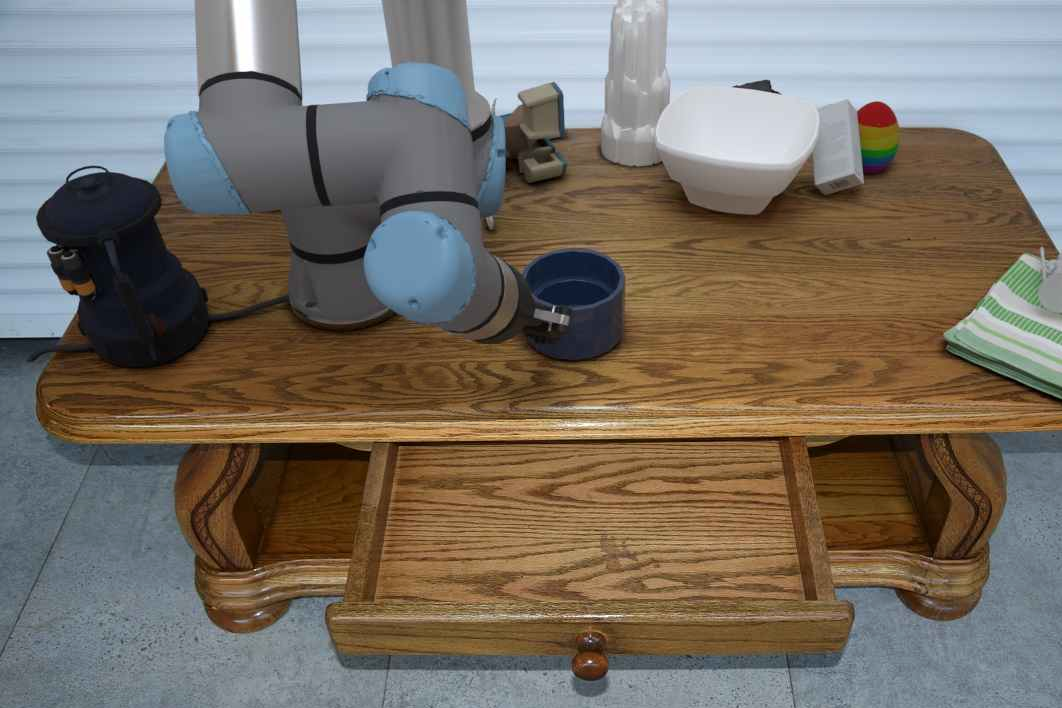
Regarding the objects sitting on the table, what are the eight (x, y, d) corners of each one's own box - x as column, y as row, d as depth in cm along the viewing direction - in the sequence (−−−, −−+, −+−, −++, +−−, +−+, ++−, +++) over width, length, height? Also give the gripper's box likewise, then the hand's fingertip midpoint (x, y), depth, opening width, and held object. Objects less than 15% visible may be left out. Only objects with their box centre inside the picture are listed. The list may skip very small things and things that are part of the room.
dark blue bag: (80, 310, 117) (104, 418, 105) (6, 165, 102) (24, 272, 90) (201, 277, 122) (237, 377, 110) (148, 133, 106) (183, 232, 94)
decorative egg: (888, 152, 146) (902, 91, 140) (897, 179, 140) (912, 116, 134) (835, 150, 147) (846, 89, 140) (841, 177, 141) (854, 115, 134)
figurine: (1049, 266, 111) (1045, 229, 120) (1030, 305, 114) (1028, 266, 123) (1095, 279, 109) (1087, 241, 119) (1075, 318, 112) (1069, 277, 122)
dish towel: (935, 349, 112) (940, 330, 110) (1014, 263, 125) (1019, 246, 123) (1087, 413, 103) (1095, 394, 101) (1155, 314, 116) (1163, 296, 114)
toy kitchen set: (483, 50, 141) (549, 37, 144) (492, 138, 151) (553, 125, 154) (526, 99, 129) (597, 84, 132) (533, 191, 139) (598, 175, 142)
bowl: (792, 251, 127) (804, 174, 119) (635, 222, 132) (637, 147, 124) (819, 172, 142) (831, 99, 134) (677, 149, 147) (681, 78, 139)
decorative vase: (664, 170, 143) (672, 2, 126) (595, 163, 145) (594, -4, 127) (674, 136, 151) (683, -26, 134) (608, 130, 152) (609, -31, 135)
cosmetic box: (864, 185, 135) (858, 110, 138) (854, 174, 131) (848, 97, 134) (824, 196, 138) (819, 123, 141) (813, 185, 135) (807, 110, 137)
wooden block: (506, 152, 139) (526, 128, 145) (530, 149, 137) (549, 125, 143) (497, 127, 137) (518, 104, 142) (521, 124, 135) (541, 100, 141)
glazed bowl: (534, 370, 109) (531, 316, 104) (517, 309, 118) (513, 255, 112) (634, 355, 111) (636, 300, 106) (610, 295, 120) (610, 242, 114)
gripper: (559, 266, 80) (612, 308, 103) (418, 242, 82) (501, 288, 106) (541, 353, 80) (599, 375, 103) (401, 326, 82) (487, 354, 105)
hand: (549, 331), depth 104 cm, fingers closed
